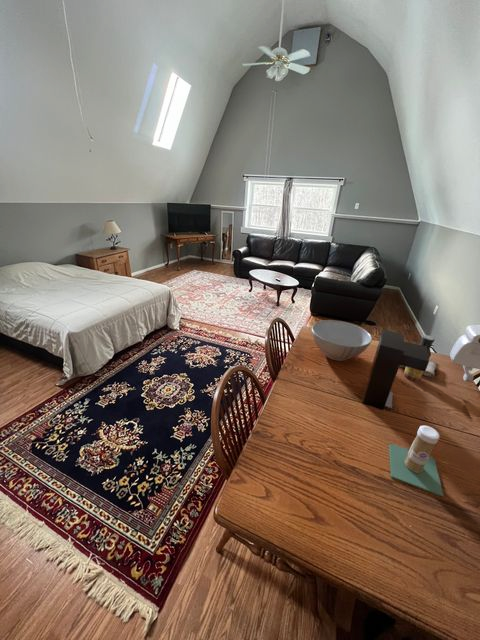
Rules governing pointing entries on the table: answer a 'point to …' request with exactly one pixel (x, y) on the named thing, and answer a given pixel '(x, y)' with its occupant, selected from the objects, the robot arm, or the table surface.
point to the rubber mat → (421, 480)
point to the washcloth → (427, 369)
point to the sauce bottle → (427, 341)
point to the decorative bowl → (340, 339)
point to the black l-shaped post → (391, 367)
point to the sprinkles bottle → (421, 448)
